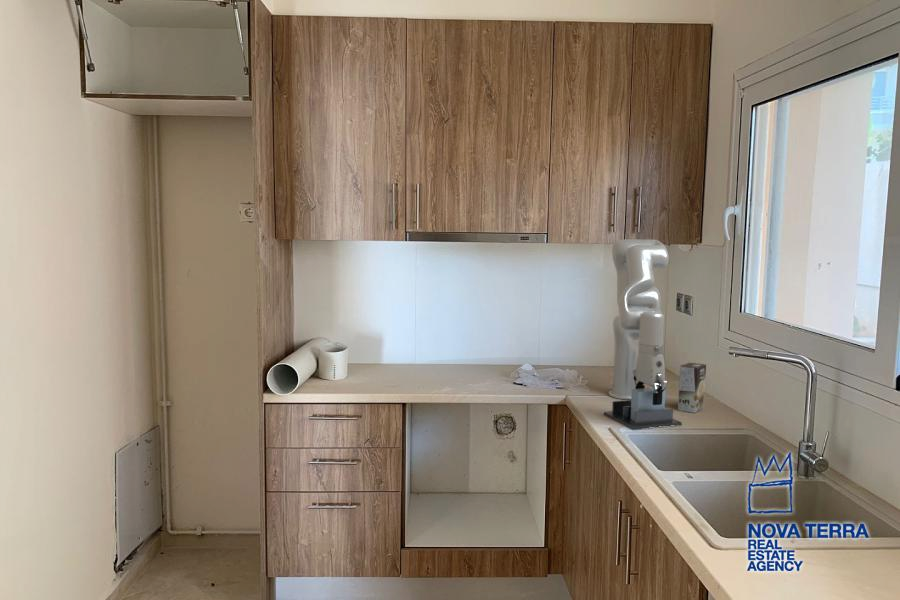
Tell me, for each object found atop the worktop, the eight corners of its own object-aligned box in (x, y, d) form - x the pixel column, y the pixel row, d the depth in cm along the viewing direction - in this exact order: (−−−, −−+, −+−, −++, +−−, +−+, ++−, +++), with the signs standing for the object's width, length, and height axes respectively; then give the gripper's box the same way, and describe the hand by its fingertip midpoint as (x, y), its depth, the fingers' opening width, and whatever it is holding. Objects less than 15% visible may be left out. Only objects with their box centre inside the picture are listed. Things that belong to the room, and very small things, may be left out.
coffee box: (695, 413, 220) (698, 368, 218) (677, 410, 224) (679, 365, 222) (704, 408, 227) (706, 364, 226) (686, 405, 231) (688, 361, 230)
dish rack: (603, 414, 217) (604, 400, 217) (648, 410, 223) (649, 397, 222) (633, 429, 200) (634, 414, 200) (681, 425, 206) (682, 410, 205)
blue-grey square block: (656, 416, 212) (658, 387, 211) (664, 420, 208) (665, 390, 207) (630, 418, 209) (631, 389, 208) (637, 422, 205) (638, 392, 204)
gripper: (677, 353, 199) (674, 407, 201) (644, 344, 215) (642, 393, 217) (656, 355, 197) (654, 408, 199) (625, 345, 213) (623, 395, 215)
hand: (648, 400), depth 208 cm, fingers open, 9 cm apart
